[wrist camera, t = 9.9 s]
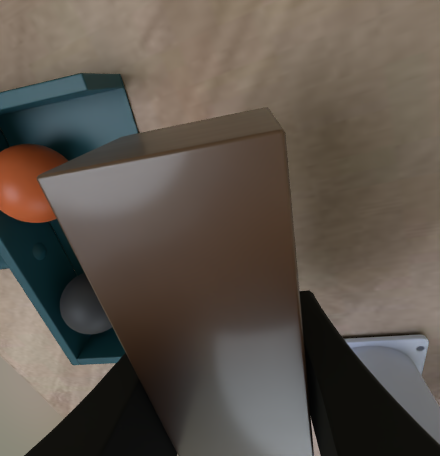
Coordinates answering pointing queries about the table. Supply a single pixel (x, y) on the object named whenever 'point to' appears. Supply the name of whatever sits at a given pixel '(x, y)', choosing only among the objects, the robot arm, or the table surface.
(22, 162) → the rust ball
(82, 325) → the charcoal ball
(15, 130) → the pusher tool
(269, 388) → the brown bar
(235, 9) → the table surface
